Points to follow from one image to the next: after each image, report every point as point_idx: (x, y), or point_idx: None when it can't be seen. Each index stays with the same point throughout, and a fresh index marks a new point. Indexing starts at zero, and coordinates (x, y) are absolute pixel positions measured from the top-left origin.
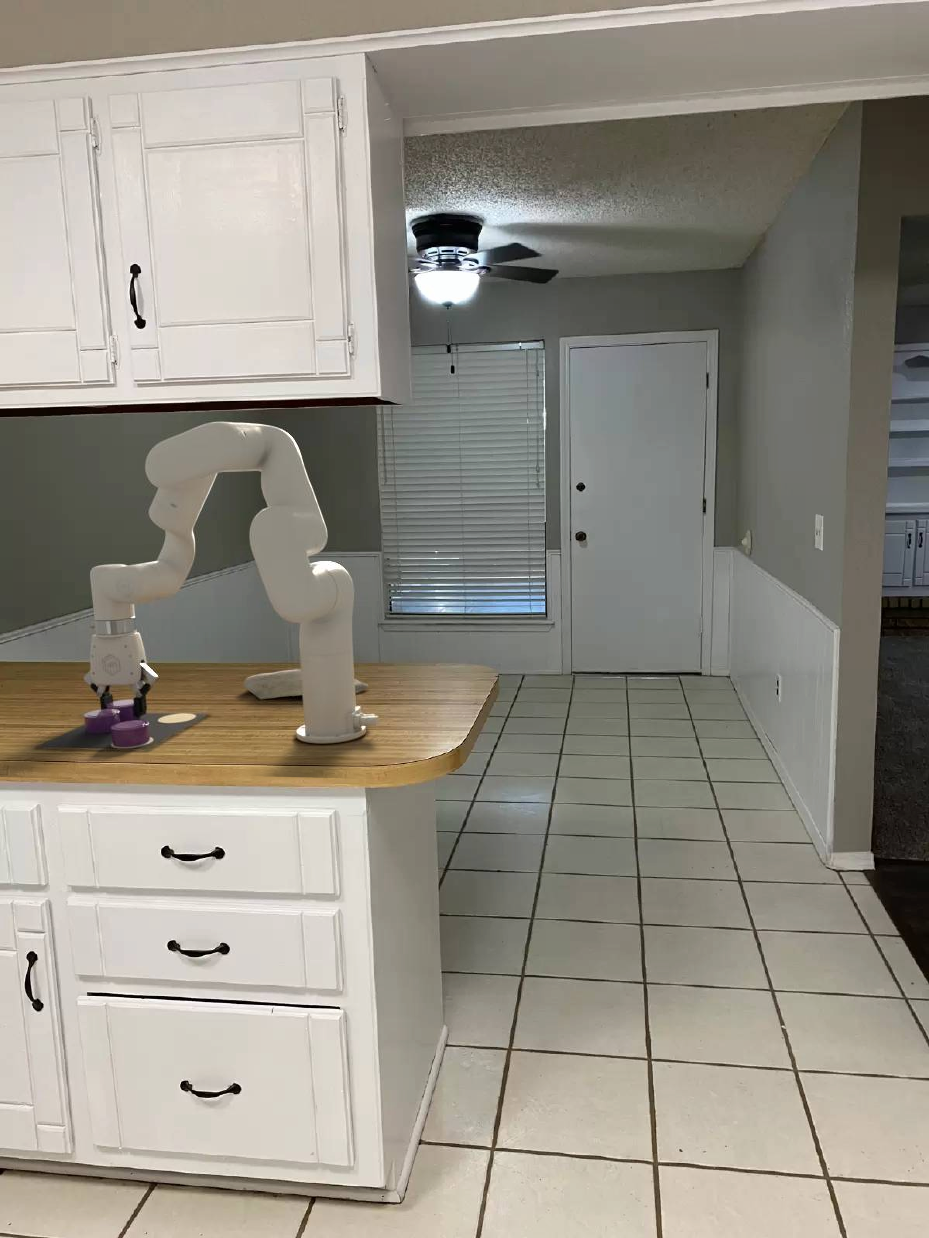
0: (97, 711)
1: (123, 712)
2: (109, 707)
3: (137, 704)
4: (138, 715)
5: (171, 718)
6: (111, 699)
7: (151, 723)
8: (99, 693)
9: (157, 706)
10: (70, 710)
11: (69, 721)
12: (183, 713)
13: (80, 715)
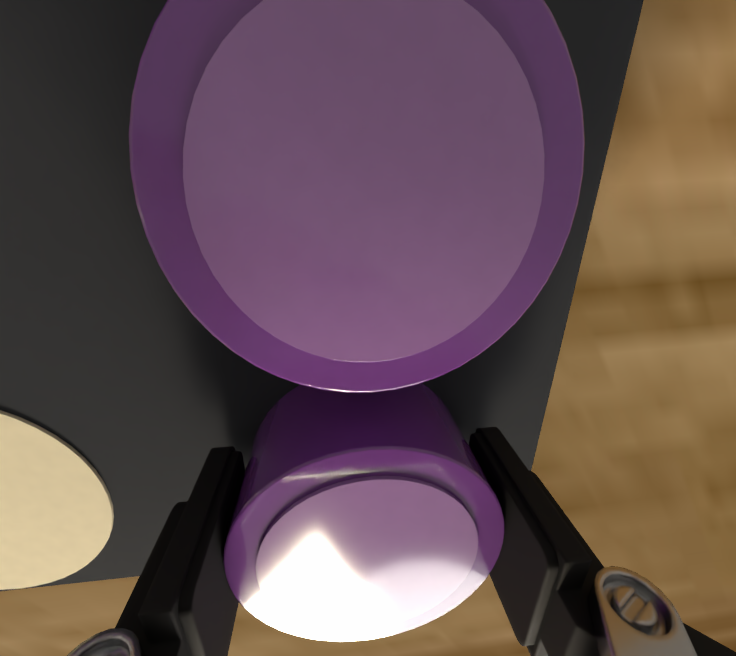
0: (460, 255)
1: (294, 432)
2: (431, 448)
3: (177, 542)
4: (211, 458)
5: (7, 495)
6: (506, 592)
7: (59, 383)
8: (642, 617)
9: (345, 650)
10: (731, 547)
11: (691, 399)
12: (34, 585)
13: (663, 495)
